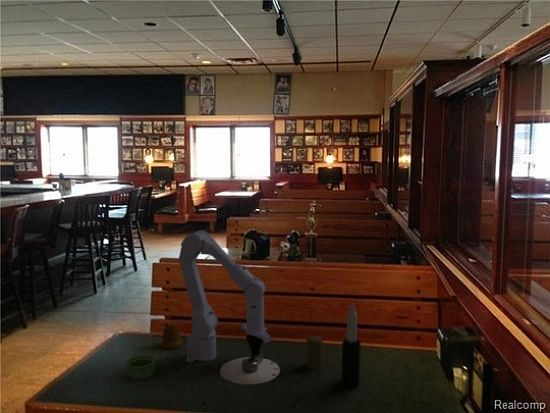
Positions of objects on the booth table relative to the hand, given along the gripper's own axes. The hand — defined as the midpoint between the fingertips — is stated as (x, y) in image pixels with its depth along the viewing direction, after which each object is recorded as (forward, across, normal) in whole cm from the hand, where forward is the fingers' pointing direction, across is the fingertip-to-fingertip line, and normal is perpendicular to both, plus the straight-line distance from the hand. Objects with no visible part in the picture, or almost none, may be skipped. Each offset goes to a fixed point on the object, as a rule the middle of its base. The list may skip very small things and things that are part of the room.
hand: (255, 356), depth 153 cm
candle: (+3, -27, -17) cm, 32 cm away
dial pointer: (+1, -4, +3) cm, 5 cm away
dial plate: (+3, -5, +5) cm, 8 cm away
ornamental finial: (+3, +30, +17) cm, 35 cm away
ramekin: (+3, +15, +34) cm, 37 cm away
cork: (+3, -15, -13) cm, 20 cm away
